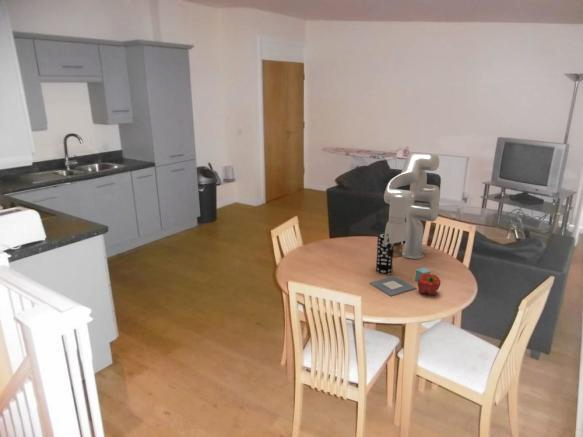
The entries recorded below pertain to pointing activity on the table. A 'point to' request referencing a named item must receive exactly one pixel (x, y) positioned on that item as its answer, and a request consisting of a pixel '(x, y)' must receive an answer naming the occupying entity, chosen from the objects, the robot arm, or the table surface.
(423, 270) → the teal block
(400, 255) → the walnut block
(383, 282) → the slate mat
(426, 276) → the vegetable
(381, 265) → the white-spotted black cylinder
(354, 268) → the table surface
